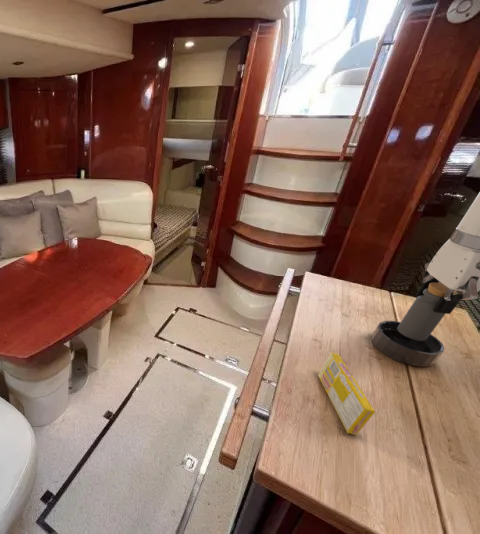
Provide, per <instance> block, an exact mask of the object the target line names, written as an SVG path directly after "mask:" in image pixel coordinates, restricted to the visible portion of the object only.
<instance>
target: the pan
mask: <svg viewBox="0 0 480 534" xmlns="http://www.w3.org/2000/svg"><path fill="white" fill-rule="evenodd" d="M400 323H401V321H398V320H397V321H396V320H384V321H383V320H382V321H381V322H379V323H378V325H377V326H376V328H375V329H374V331H373V333H372V334H371V336H370V340H371V343H372V344H373V346H374V347H375V348H377V349H378V351H380V352H381V353H383V354H384V355H385V356H387V357H389V358H391V359H392V360H395V361H398V362H400V363H403V364H407V365H410V366H414V367H415V366H416V367H430V366H432V365H435V363H436V362H437V361H438V359H439V358H440V357H441V356H442V354H443V353H444V351H445V346H444V344H443V343H442V341H441V340H439V339H438V337H437V336H435V335H434V334H432V333H431V334H430V335H429V337H428V338H427V339H426V340H424V341H419V340H414V339H411V338H408V337H406V336H404V335H403V334H401V333H400V332H399V331H398V329H397V328H398V326H399V324H400Z"/></svg>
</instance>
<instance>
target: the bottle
mask: <svg viewBox="0 0 480 534" xmlns="http://www.w3.org/2000/svg"><path fill="white" fill-rule="evenodd" d="M446 290H447V286H445V285H444V284H442V283H430V284H429V287H428V288H426V289H425V290H424V291H423V294H424V295H421V296H418V297H417V296H416V298H415V299H414V301H413V303H411V305H410V307H409V309H408V310H407V312H406V313H405V315H404V316H403V318H402V319H401V321H400V322H401V323H400V324H399V326H398V328H397V329H398V331H399V332H400V333H401V334H403V335H404V336H406V337H408V338H411V339H414V340H419V341H424V340H426V339H427V338H428V337H429V335H430V334H432V333H433V331H434V330H435V329H436V327H437V326H438V325H439V323H440V322H441V320H442V319H443V318H444V316H445V315H446V314H444V313H437V312H434V311H433V308H434V307H435V306H436V304H437V303H438V301H439V300H440V299H441V298H444V297H445V294H446ZM456 294H458V291H454V293H453V295H456Z"/></svg>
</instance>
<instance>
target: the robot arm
mask: <svg viewBox="0 0 480 534" xmlns="http://www.w3.org/2000/svg"><path fill="white" fill-rule="evenodd" d="M430 283H442V284H444V285H445V286H447V290H446V294H445V297H444V298H441V299H440V300H439V301H438V303H437V304H436V306H435V307H434V308H433V311H434V312H437V313H444V314H445V315H451V314H452V312H453V311H454V310H455V308H456V307H457V306H458V304H459V303H463V302H466V301H470V300H477V299H478V298H479V294H478V293H479V292H480V191H479V192H478V194H477V196H476V197H475V199H474V200H473V202H472V203H471V205H470V206H469V208H468V209H467V211H466V212H465V214H464V216H463V217H462V219H461V220H460V222H459V224H458V225H457V226H456V227H455V230H454V231H453V233H452V234H451V236H450V238H449V239H447V241H446V242H445V243H443V245H442V246H441V247H440V248H439V249H438V250H437V252H436V253H435V255H434V256H433V258H432V259H431V261H429V262H427V263H425V264H424V278H423V279H422V284H421V286H420V288H419V289H418V291H417V292H416V294H415V297H416V298H417V297H418V296H421V295H424V294H423V291H424V290H425V289H426V288H428V287H429V284H430ZM454 291H457V293H455V294H454V295H453V293H454Z"/></svg>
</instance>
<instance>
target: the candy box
mask: <svg viewBox="0 0 480 534" xmlns="http://www.w3.org/2000/svg"><path fill="white" fill-rule="evenodd" d="M317 376H318V378H319V380H320V382H321V384H322V386H323V388H324V390H325V392H326V394H327V396H328V398H329V400H330V402H331V404H332V406H333V408H334V410H335V412H336V414H337V416H338V418H339V419H340V421H341V423H342V426H343V427H344V430H345V431H346V434H348V435H349V434H350V435H353V436H357V435H358V433H359V432H360V431H361V430H362V429H363V428H364V426H365V425H366V424H367V423H368V421H369V420H370V419H371V418H372V417H373V415H374V414H375V413H376V411H375V409H374V408H373V406H372V404H371V403H370V401H369V400H368V398H367V397H366V395H365V393H364V391H363V390H362V389H361V387H360V386H359V384H358V382H357V381H356V379H355V378H354V376H353V374H352V373H351V371H350V369H349V367H348V366H347V365H346V363H345V362H344V360H343V358H342V357H341V355H340V354H339V353H337V352H331V353H330V354H329V356H328V358H327V359H326V361H325V363H324V364H323V366H322V368H321V369H320V371H319V373H318V374H317Z"/></svg>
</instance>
